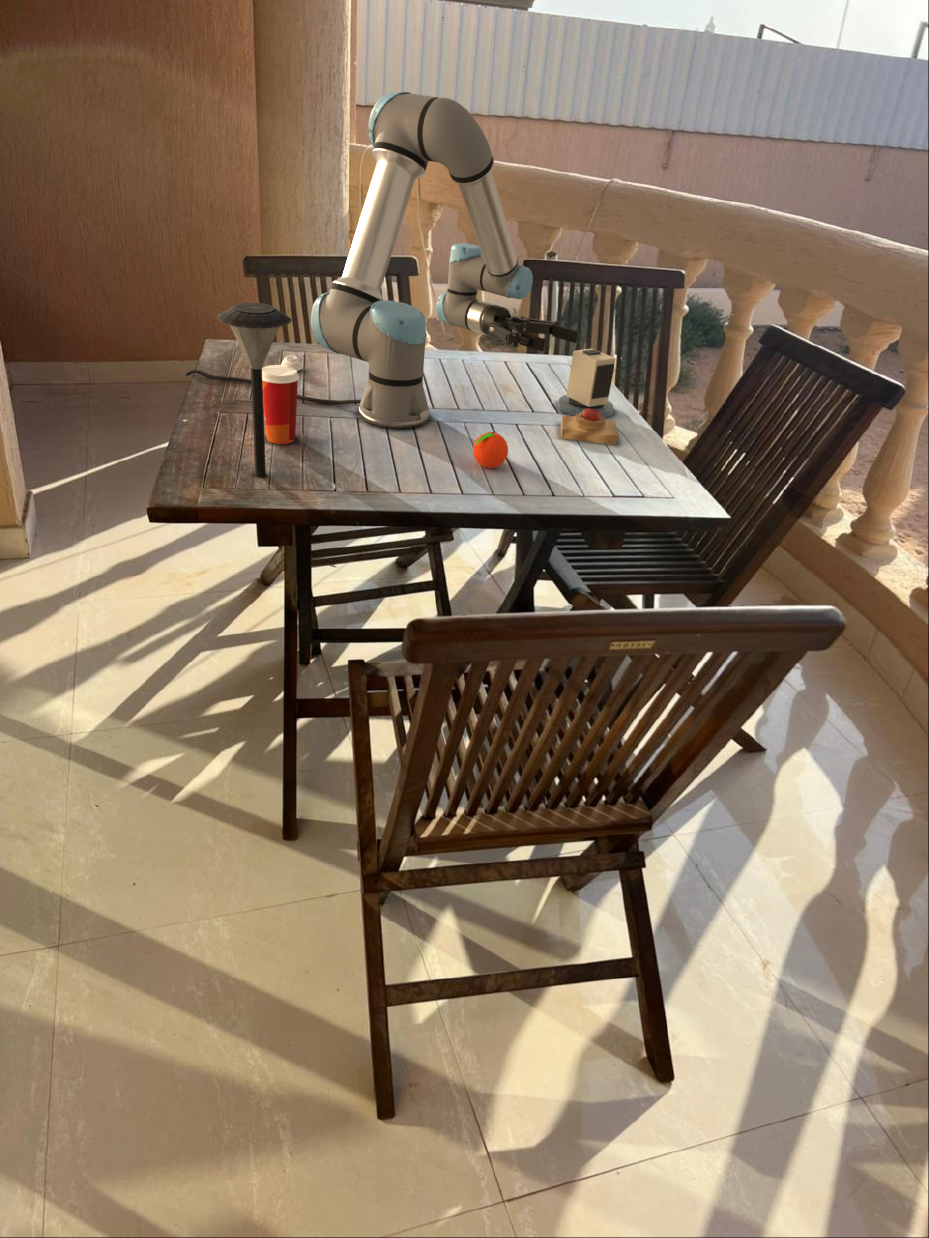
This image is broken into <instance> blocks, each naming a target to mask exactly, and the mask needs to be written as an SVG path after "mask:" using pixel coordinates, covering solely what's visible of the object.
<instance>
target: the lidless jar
mask: <svg viewBox="0 0 929 1238" xmlns="http://www.w3.org/2000/svg"><path fill="white" fill-rule="evenodd" d="M300 362H301V361H299V359H298V357H297V356H296V355H285V356H284V359H283V360H282V362H281V364H280V365H285V366H289V367H291V368H294V369H295V370H297V372H299V371H301V370H302V369H303V366H302V364H301V363H300Z"/></svg>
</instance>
